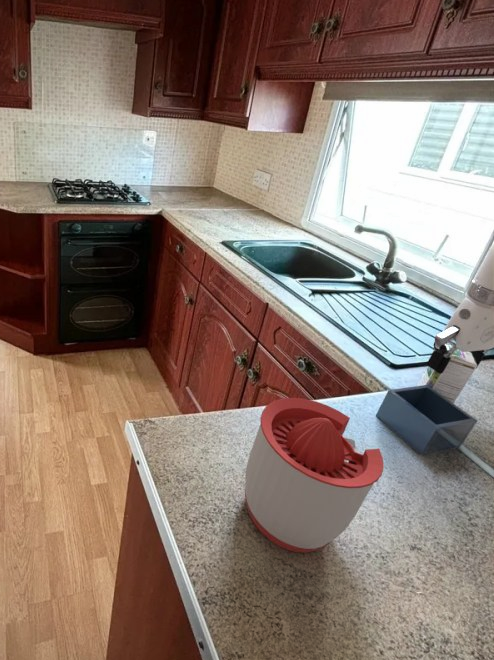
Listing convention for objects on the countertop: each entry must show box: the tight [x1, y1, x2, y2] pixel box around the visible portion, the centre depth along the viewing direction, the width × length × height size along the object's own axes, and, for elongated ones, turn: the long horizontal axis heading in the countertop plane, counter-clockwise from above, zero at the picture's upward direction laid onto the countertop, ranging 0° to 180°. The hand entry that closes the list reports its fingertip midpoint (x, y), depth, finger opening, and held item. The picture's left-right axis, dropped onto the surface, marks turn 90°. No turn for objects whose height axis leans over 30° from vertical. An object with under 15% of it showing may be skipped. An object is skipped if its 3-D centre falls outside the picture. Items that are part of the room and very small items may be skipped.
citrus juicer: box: [244, 397, 385, 554], centre depth 58 cm, size 16×17×20 cm
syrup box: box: [416, 344, 478, 404], centre depth 87 cm, size 6×6×14 cm
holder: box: [375, 385, 478, 456], centre depth 81 cm, size 11×11×7 cm
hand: (451, 367), depth 85 cm, fingers open, 9 cm apart
